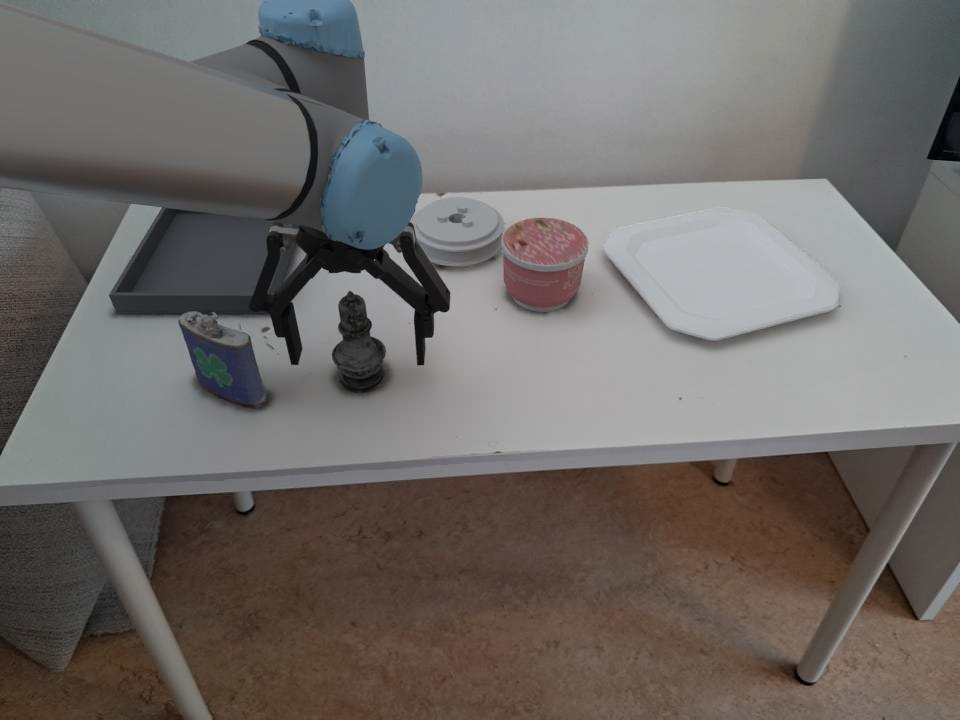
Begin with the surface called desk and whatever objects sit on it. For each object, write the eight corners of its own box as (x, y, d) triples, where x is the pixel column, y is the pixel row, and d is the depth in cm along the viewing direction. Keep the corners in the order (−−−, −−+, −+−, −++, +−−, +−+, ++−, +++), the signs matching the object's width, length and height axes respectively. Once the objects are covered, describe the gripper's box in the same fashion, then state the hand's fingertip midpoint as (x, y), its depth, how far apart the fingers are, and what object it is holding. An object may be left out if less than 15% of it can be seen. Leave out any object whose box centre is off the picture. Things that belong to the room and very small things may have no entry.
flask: (272, 397, 79) (251, 321, 72) (253, 414, 77) (230, 338, 70) (209, 368, 83) (183, 293, 75) (190, 384, 81) (161, 309, 73)
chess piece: (328, 391, 80) (312, 305, 72) (344, 355, 84) (331, 271, 76) (380, 397, 79) (369, 312, 71) (394, 361, 84) (385, 276, 75)
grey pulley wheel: (393, 242, 101) (390, 211, 98) (463, 211, 107) (463, 180, 104) (451, 284, 94) (450, 251, 91) (522, 248, 100) (523, 216, 97)
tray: (272, 314, 90) (267, 295, 88) (116, 313, 90) (108, 295, 88) (305, 213, 107) (302, 196, 105) (174, 213, 107) (168, 195, 105)
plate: (856, 313, 90) (863, 299, 89) (683, 359, 84) (686, 345, 82) (739, 213, 107) (743, 200, 106) (587, 245, 101) (589, 231, 100)
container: (561, 262, 98) (565, 210, 93) (596, 308, 91) (604, 255, 85) (488, 278, 95) (488, 226, 90) (518, 327, 88) (521, 273, 83)
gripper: (473, 162, 68) (473, 334, 82) (205, 161, 68) (252, 334, 82) (472, 204, 63) (473, 381, 77) (181, 203, 62) (236, 380, 77)
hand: (359, 357), depth 80 cm, fingers open, 13 cm apart
